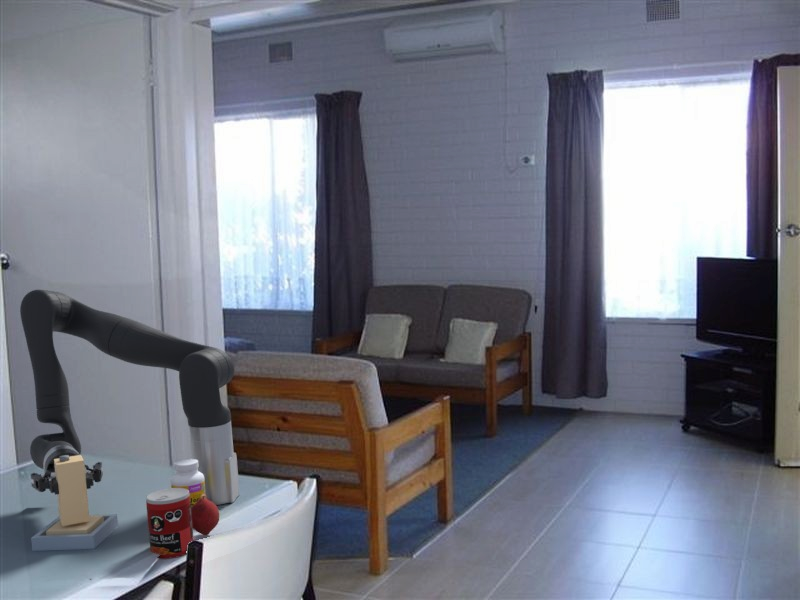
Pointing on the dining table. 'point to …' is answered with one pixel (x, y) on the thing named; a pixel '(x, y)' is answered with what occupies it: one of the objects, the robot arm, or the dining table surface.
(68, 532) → the beige slab
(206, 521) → the onion
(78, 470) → the carton
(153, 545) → the canned food
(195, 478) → the supplement bottle
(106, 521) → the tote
